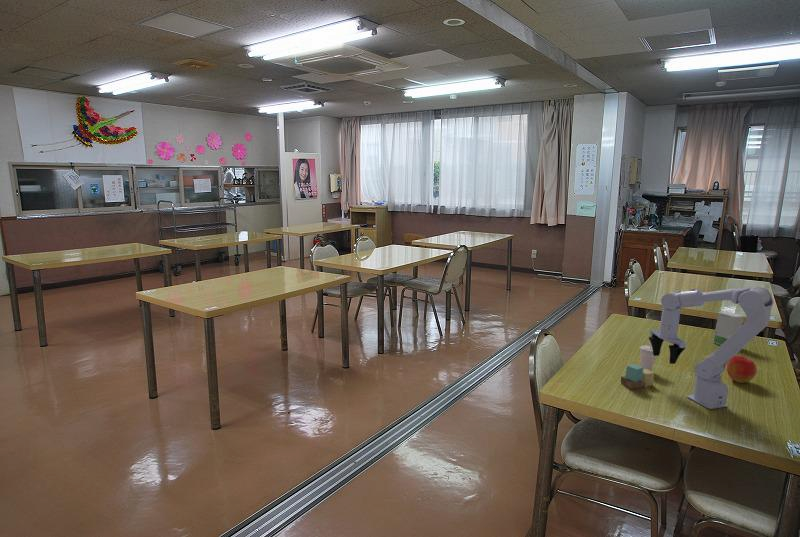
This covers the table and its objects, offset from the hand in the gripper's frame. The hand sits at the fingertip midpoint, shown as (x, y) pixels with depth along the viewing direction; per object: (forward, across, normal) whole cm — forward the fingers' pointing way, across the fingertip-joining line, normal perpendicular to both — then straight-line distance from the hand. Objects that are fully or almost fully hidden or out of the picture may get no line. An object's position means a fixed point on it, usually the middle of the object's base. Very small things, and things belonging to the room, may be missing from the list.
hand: (664, 359), depth 175 cm
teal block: (+8, +2, +11) cm, 14 cm away
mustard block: (+10, +3, +5) cm, 12 cm away
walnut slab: (+11, +2, +11) cm, 16 cm away
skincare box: (+11, +29, -66) cm, 73 cm away
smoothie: (+11, +13, -5) cm, 17 cm away
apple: (+10, -4, -33) cm, 35 cm away
